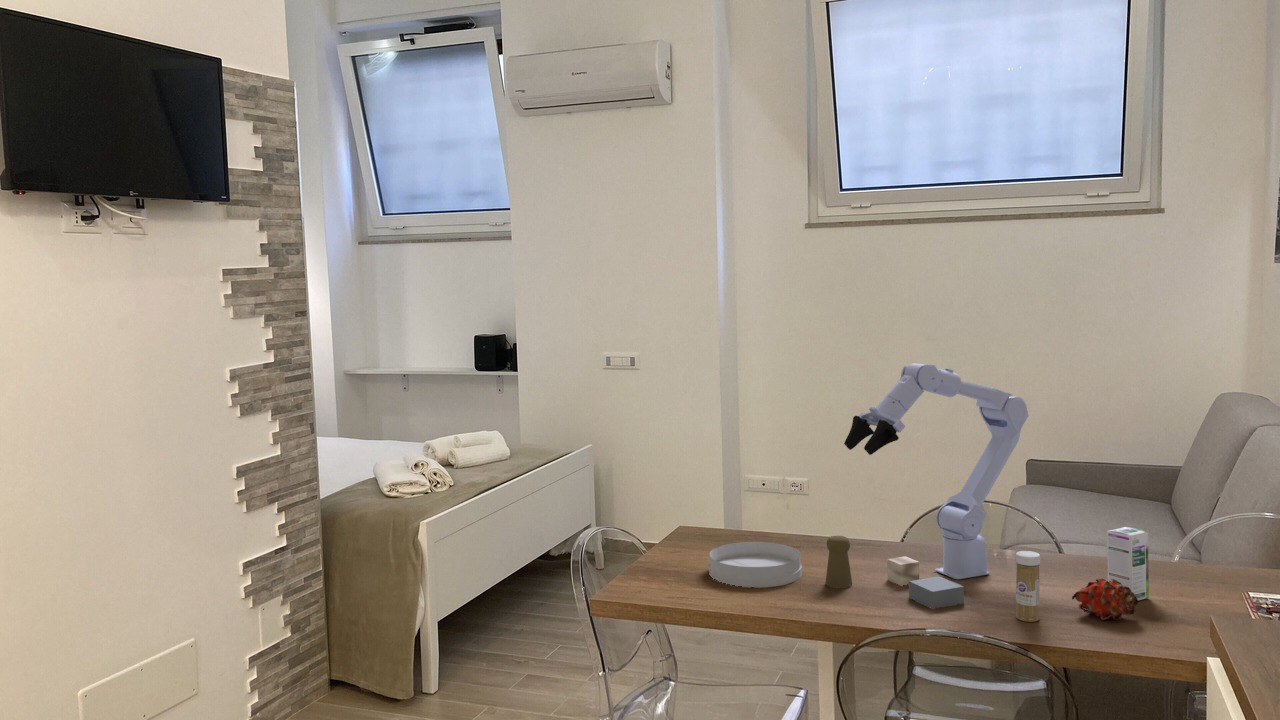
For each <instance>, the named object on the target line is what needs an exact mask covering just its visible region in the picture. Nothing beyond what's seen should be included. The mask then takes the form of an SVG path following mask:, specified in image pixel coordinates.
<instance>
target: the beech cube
mask: <svg viewBox="0 0 1280 720" xmlns="http://www.w3.org/2000/svg"><path fill="white" fill-rule="evenodd" d="M886 561H887V565H886V566H887V581H889V582H891V583H893V584H895V583H896V584H895V585H897V584H898V586H900V587H904V586H903V585H905V586H908V585H907V584H909V581H913V580H919V579H920V561H918V560H915V559H913V558H910V557H908V556H905V555H904V556H899V557H893V558H887V560H886Z"/></svg>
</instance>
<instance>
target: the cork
mask: <svg viewBox="0 0 1280 720" xmlns="http://www.w3.org/2000/svg"><path fill="white" fill-rule="evenodd" d="M850 547H851V542H850V540H849V538H848V537H847V536H843V535H832V536H829V537H828V538H827V540H826V548H827V550H828V559H827V569H826V576H825V583H826V584H825V585H826V586H827V585H828V586H827V587H830V588H836V589H845V588H846V587H847V588H850V587H852V586H853V580H852V573H851V566H850V559H849V553H848V551H849V550H850Z"/></svg>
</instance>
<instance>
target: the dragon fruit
mask: <svg viewBox="0 0 1280 720" xmlns="http://www.w3.org/2000/svg"><path fill="white" fill-rule="evenodd" d="M1111 580H1113V581H1109V582H1108V580H1106V579H1104V578H1095V581H1089V582H1088V583H1087V585H1086V586H1085V587H1082V588H1081V589H1080V590H1078V591H1076V592H1074V593H1073V595H1072V596H1071V599H1072V601H1073V600H1076V602H1079V603H1080V604H1078V609H1080V610H1081V611H1083V612H1084V613H1087V614H1092V615H1093V616H1094V617H1100V619H1101V620H1102V621H1105V620H1109V619H1113V620H1115V621H1116V620H1117V621H1118V620H1119V621H1120V620H1122V616H1123V615H1124V616H1129V615H1131V616H1132V615H1134V613H1135V612H1136V611H1137V610H1136V609H1135V607H1136V606H1138V603H1139V600H1138V599H1137V598H1136V596H1135V594H1134V593H1133V592H1131V590H1130V588H1129V587H1127V586H1123V585H1122V584H1121V583H1120V582H1118V581H1117V580H1115V579H1111ZM1110 617H1111V618H1110Z"/></svg>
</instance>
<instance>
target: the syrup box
mask: <svg viewBox="0 0 1280 720" xmlns="http://www.w3.org/2000/svg"><path fill="white" fill-rule="evenodd" d="M1106 544H1107V546H1106V549H1107V551H1106V553H1107V555H1106V558H1107V559H1106V561H1107V564H1106V565H1107V581H1108V582H1109V581H1113V580H1111V579H1115V580H1117V581H1118V582H1120V583H1121V584H1122V585H1123V586H1127V587H1129V588H1130V590H1131V592H1133V593H1134V594H1135V596H1136V598H1137V599H1138V601H1141V600H1145V599H1149V597H1150V591H1149V586H1150V585H1149V584H1150V582H1149V581H1150V580H1149V532H1148V531H1146V530H1144V529H1140V528H1135V527H1129V526H1123V527H1120V528H1116V529H1109V530H1107V532H1106Z"/></svg>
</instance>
